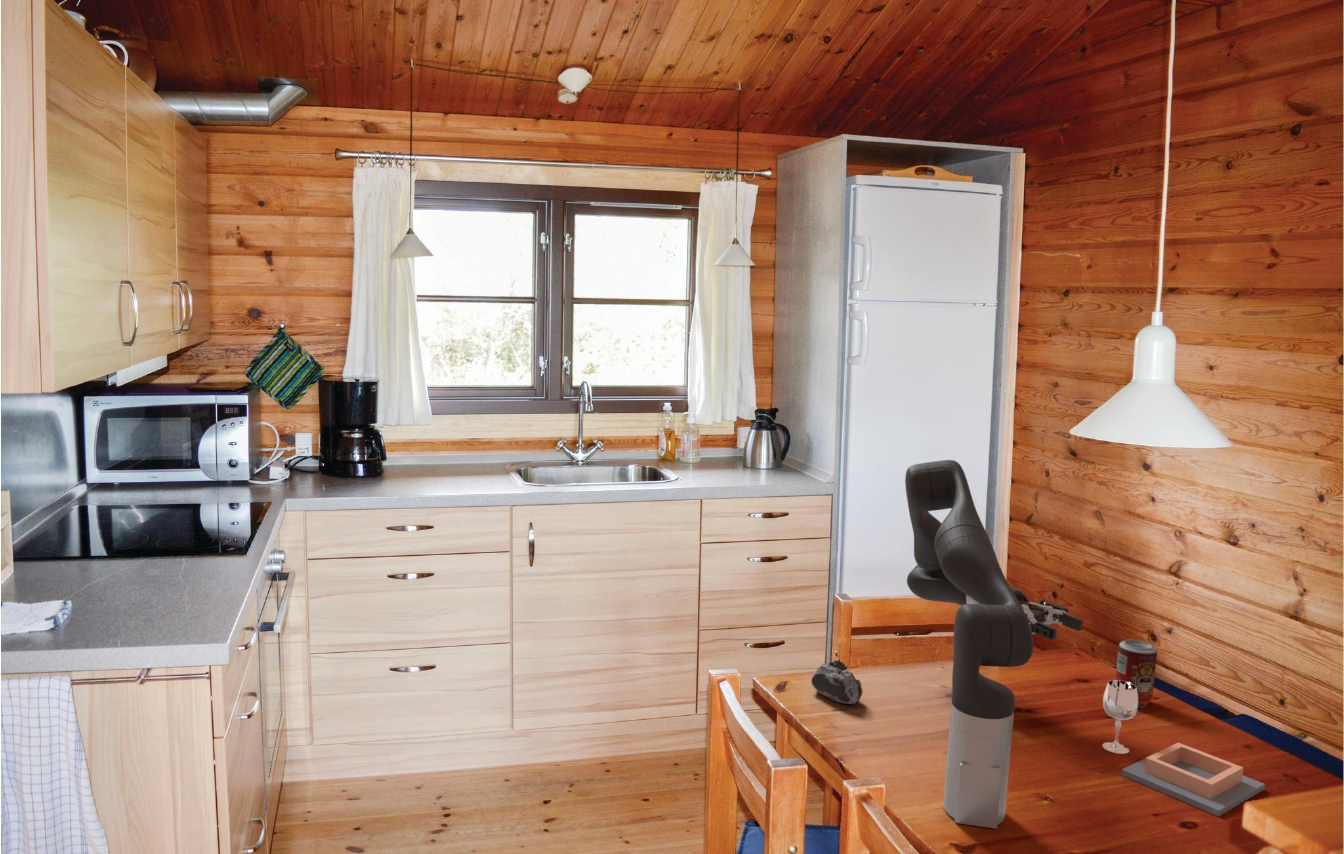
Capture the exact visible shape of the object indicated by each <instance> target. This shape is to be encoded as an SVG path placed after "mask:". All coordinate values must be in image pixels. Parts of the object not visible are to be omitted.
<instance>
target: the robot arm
mask: <svg viewBox="0 0 1344 854" xmlns="http://www.w3.org/2000/svg"><path fill="white" fill-rule="evenodd" d="M904 483H905V484H904V485H905V494H906V499H907V507H908V513H909V518H910V523H911V528H912V531H913V556H914V560H915V563H916V564H917V565H915V566H914V568H913V569H912V570H911V571H909V573H908V575H907V578H906V585H907V587H908V589H909V590H910V591H911V592H912V593H913V595H915V596H916V597H918V598H921V599H923V600H926V601H930V602H932V601H933V602H939V603H949V604H951V603H952V604H956V605H959V608H958V609H957V612H956V614H955V618H954V624H953V654H952V655H953V657H952V659H953V660H952V661H953V662H952V677H951V678H952V679H951V680H952V681H951V682H952V683H951V686H952V688H951V702H950V703H951V704H950V717H949V728H948V730H949V731H948V741H947V742H948V743H947V755H946V756H947V757H946V765H945V768H946V769H945V778H944V779H945V780H944V781H945V782H944V794H943V795H944V796H943V809H944V811H945V812H946V813H947V814H948V816H950V817H951V818H953V819H954V822H955V823H956V824H961V825H968V826H969V825H970V826H973V827H974V826H975V827H982V828H990V829H998V825H1000V824H1001V823H1002V822H1004V820H1005V817H1006V810H1007V809H1006V807H1007V798H1008V785H1009V783H1008V782H1009V773H1010V772H1009V771H1010V761H1011V750H1012V749H1011V747H1012V737H1013V736H1012V735H1013V728H1014V727H1013V726H1014V718H1015V717H1014V715H1015V714H1014V713H1015V704H1016V699H1015V694H1014V692H1013V690H1011V688H1009V687H1007V686H1006V685H1005V684H1003V683H1001V682H999V681H996V680H994V679H992V678H988V677H987V676H984V675H982V674H981V673H980V667H996V668H997V667H999V668H1000V667H1001V668H1002V667H1003V668H1013V667H1021V666H1024V665H1025V664H1027V663H1028V662H1029V661H1030V660H1031V658H1032V655H1033V653H1034V652H1033V651H1034V638H1033V635H1038V636H1040V637H1042V638H1045V639H1047V640H1050V641H1054V640H1056V638H1057V633H1058V631H1057V629H1056V628H1055V627H1053V626H1051V625H1052V624H1057V625H1061V626H1064V627H1066V628H1069V629H1072V630H1074V631H1077V632H1079V631H1082V630H1083V624H1084V621H1083V620H1082V619H1080V618H1078V617H1076V616H1073V615H1070V614H1069V608H1068V607H1065V606H1062V605H1060V604H1057V603H1054V602H1052V601H1048V600H1045V599H1039V603H1038V602H1034V601H1028V599H1027V597H1026V595H1025V593H1024V592H1023V591H1022V590H1019V589H1017V588H1014V587H1013V586H1010V584H1009V582H1008V580H1007V579H1006V576H1005V574H1004V572H1003V571H1002V568H1001V565H1000V562H999V561H998V558H997V555H996V552H995V549H994V546H993V545H992V542H991V539H990V537H989V535H988V532H987V531H986V529H985V527H984V524H983V522H982V520H981V518H980V516H979V513H978V511H977V508H976V506H975V502H974V499H973V496H972V493H971V490H970V486H969V483H968V479H967V477H966V473H965V471H964V469H963V467H962V466H961V464H960V463H959V462H958V461H956V460H952V459H943V460H936V461H929V462H928V461H927V462H922V463H917V464H913V465H910V466H909V467H908V468H907V469H906V471H905V479H904ZM948 509H949V510H950V511H949V512H948V514H947V515H946V517H945V518H944V519H943V520H942V522H941V521H940V520H939V519H938V518H937V517H935V516H933V514H932V513H930V512H932V511H941V510H948ZM1046 616H1047V618H1046Z"/></svg>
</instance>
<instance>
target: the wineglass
mask: <svg viewBox="0 0 1344 854" xmlns="http://www.w3.org/2000/svg"><path fill="white" fill-rule="evenodd" d="M1102 707H1103V710H1104V711H1105V713H1106V714H1107V715H1108V716H1109V717H1111V718H1113V719H1116V720H1115V723H1114V727H1115V738H1114V741H1113V742H1111V741H1108V742H1104V743H1103V744H1102V748H1103V749H1104V750H1105V751H1108V752H1110V753H1113V754H1117V755H1118V754H1119V755H1126V754H1128V753H1130V748H1129V747H1127V746H1126V745H1124V744H1122V743H1119V735H1120V734H1119V733H1120V729H1121V727H1122V721H1127V720H1130V719H1133V718H1134V717H1135V716H1136V714H1137V712H1138V710H1139V709H1138V694H1137V688H1136V686H1135V685H1134V684H1132V683H1129V682H1126V681H1121V680H1115V679H1111V680H1109V681H1107V684H1106V686H1105V690H1104V692H1103V698H1102Z"/></svg>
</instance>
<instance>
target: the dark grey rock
mask: <svg viewBox="0 0 1344 854" xmlns="http://www.w3.org/2000/svg"><path fill="white" fill-rule="evenodd" d="M848 668H849V665H848V664H847V665H846V664H845V663H844V662H842V661H841V660H840V659H838V660H833V661H830V662H829V663H827V662H823V663H822V664H821V665H820V666H819V667H817V669H816V670H815V672H814V673H813V675H812V677H811V684H812V687H813V688H814V689H815V691H816V692H817V693H819V694H820V695H823V696H824V697H827V698H828V699H830V700H831V701H832V702H835V701H836V703H839V704H840V703H842V704H848V705H854V704H856V703H857V701H859V700H861V698H862V696H863V692H864V691H863V687H862V682H861V680H860V679H856V676H855V675H854V673H853V672H852V671H850V670H848Z"/></svg>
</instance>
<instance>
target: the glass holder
mask: <svg viewBox="0 0 1344 854" xmlns="http://www.w3.org/2000/svg"><path fill="white" fill-rule="evenodd" d="M1243 774H1244V767H1243V766H1240V765H1238V764H1236V763H1233V762H1230V761H1228V760H1225V759H1222V758H1220V757H1217V756H1214V755H1211V754H1209V753H1206V752H1204V751H1201V750H1200V749H1196V748H1193V747H1191V746H1189V745H1186V744H1183V743H1180V742H1176V743H1174V744H1173V745H1170V746H1167V747H1166V748H1164V749H1161V750H1159V751H1157V752H1155V753H1152V754H1151V755H1149V756H1147V757H1145V758H1143V759H1141V760H1139V761H1136V762H1134V763H1133V764H1130V765H1128V766H1127V767H1124V768H1122V769H1121V776H1122V777H1125V778H1128V779H1130V780H1132V781H1134V782H1138V784H1142V785H1144V786H1147V787H1148V788H1151V789H1154V790H1156V791H1158V792H1160V793H1163V794H1164V795H1167V796H1170V797H1172V798H1175V799H1176V800H1179V801H1181V802H1183V803H1186V804H1188V805H1190V806H1193V807H1195V808H1198V809H1199V810H1202V811H1205V812H1207V813H1209V814H1211V815H1213V816H1217V817H1221V816H1222V815H1224V814H1225V813H1227V812H1229V811H1230V810H1233V809H1234V808H1235V807H1237V806H1239V805H1241V804H1242V803H1244V802H1246V801H1247V800H1249V799H1251V798H1252V797H1254V796H1256V795H1257V794H1260V793H1261V792H1262V791H1264V790H1265V788H1266V787H1265V786H1266V784H1265V783H1264V782H1260V781H1259V780H1256V779H1253V778H1250V777H1248V776H1246V775H1243ZM1241 802H1242V803H1241Z"/></svg>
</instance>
